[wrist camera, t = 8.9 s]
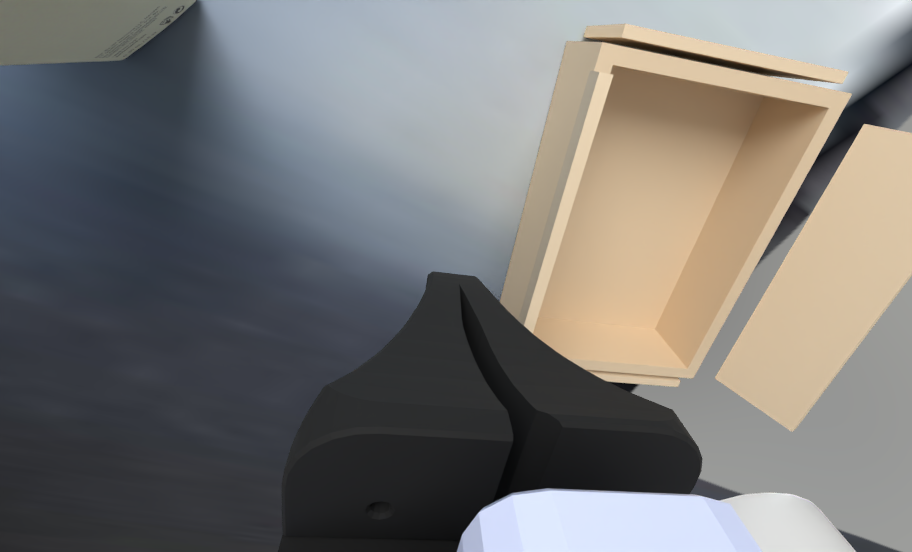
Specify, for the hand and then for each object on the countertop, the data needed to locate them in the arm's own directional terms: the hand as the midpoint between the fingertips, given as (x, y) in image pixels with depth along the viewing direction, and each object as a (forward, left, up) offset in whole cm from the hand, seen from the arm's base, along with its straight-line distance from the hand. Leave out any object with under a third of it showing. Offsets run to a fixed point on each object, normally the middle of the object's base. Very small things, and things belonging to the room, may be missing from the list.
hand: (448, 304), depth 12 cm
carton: (0, -9, -10) cm, 14 cm away
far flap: (0, -15, -3) cm, 16 cm away
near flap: (0, -4, -3) cm, 5 cm away
